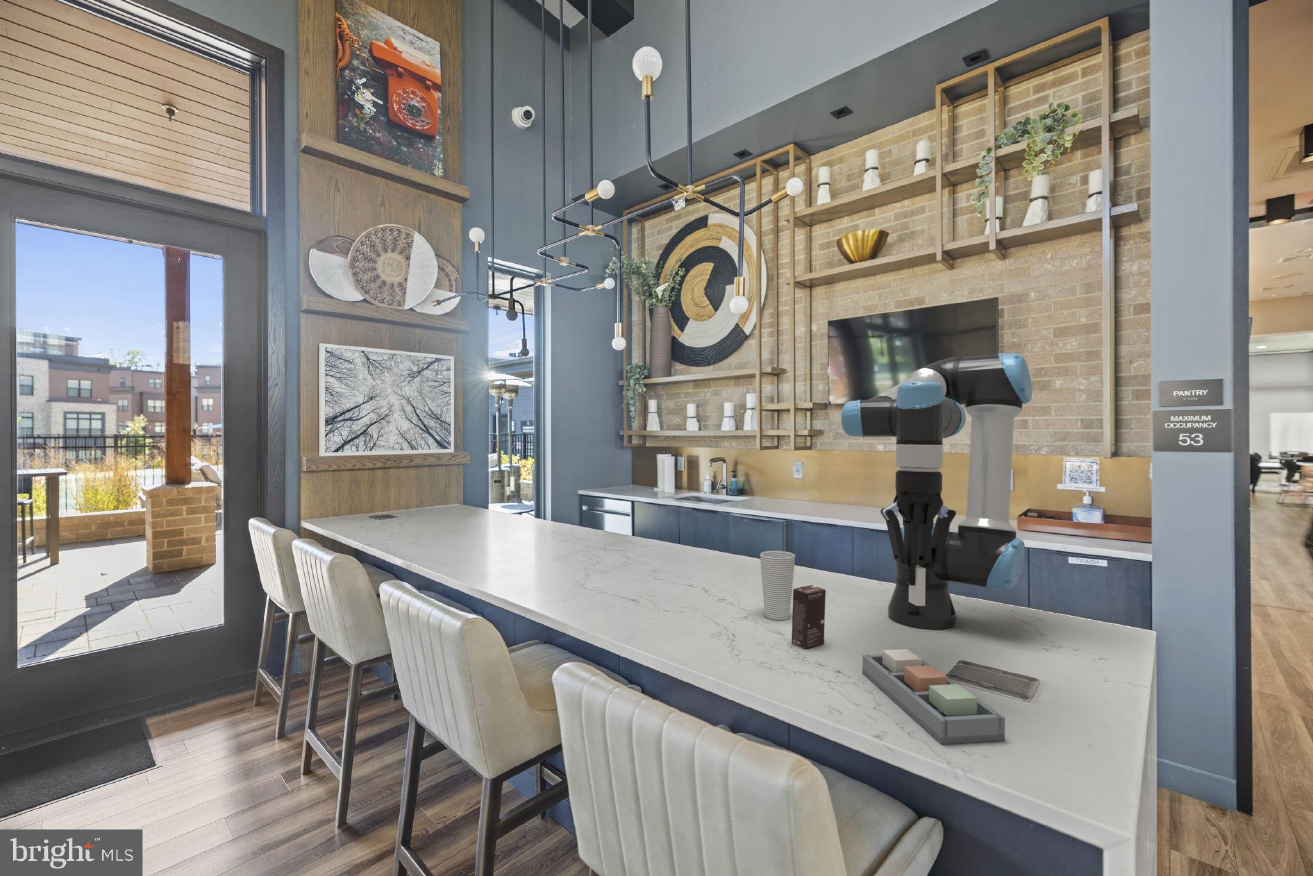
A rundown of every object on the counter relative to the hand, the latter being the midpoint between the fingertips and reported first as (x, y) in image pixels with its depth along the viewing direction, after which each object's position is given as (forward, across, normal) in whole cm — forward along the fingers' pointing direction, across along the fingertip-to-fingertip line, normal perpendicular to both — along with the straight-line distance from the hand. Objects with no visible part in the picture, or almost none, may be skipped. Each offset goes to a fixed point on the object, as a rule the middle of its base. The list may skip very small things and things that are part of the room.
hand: (916, 603), depth 102 cm
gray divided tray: (+16, +1, +4) cm, 16 cm away
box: (+16, +11, -24) cm, 30 cm away
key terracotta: (+13, +1, +4) cm, 14 cm away
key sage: (+13, +1, +12) cm, 17 cm away
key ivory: (+13, +1, -3) cm, 13 cm away
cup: (+15, +12, -42) cm, 47 cm away
